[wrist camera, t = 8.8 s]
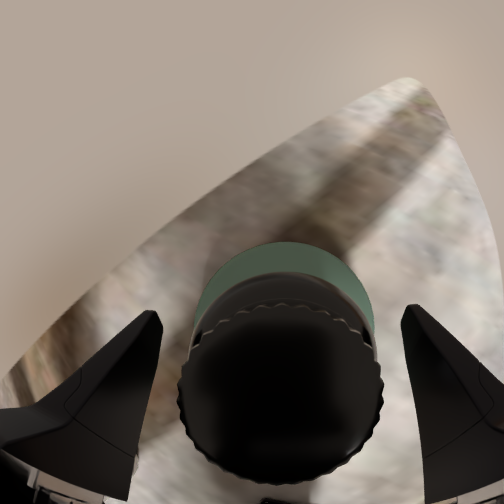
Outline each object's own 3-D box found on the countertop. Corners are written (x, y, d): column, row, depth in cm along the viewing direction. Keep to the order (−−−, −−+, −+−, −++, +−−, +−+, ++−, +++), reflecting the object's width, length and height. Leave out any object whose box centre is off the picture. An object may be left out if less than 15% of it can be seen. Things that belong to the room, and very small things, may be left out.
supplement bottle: (211, 345, 17) (94, 402, 6) (273, 262, 18) (244, 187, 6) (293, 405, 16) (296, 536, 4) (358, 323, 16) (470, 354, 5)
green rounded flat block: (325, 421, 18) (330, 437, 15) (185, 368, 20) (170, 376, 17) (382, 281, 19) (397, 277, 17) (240, 229, 22) (232, 217, 19)
